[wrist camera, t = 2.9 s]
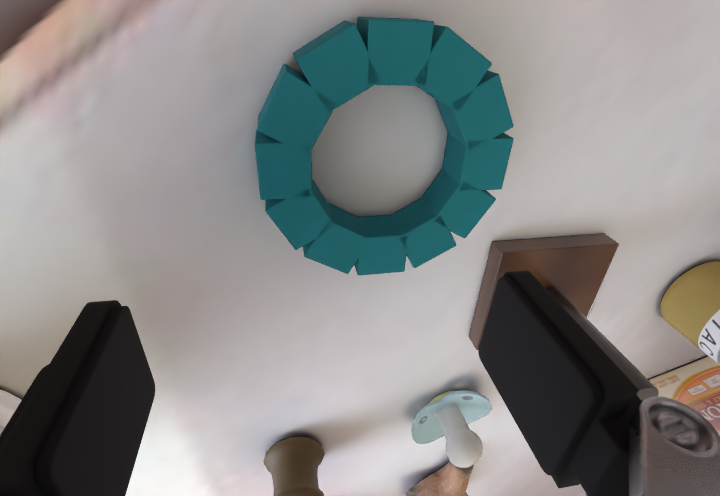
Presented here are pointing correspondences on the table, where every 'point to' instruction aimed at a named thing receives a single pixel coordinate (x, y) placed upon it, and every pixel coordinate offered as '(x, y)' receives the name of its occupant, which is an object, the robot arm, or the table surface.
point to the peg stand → (559, 285)
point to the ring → (345, 81)
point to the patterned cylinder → (696, 307)
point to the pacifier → (453, 424)
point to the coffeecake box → (694, 388)
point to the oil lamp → (444, 482)
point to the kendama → (295, 466)
